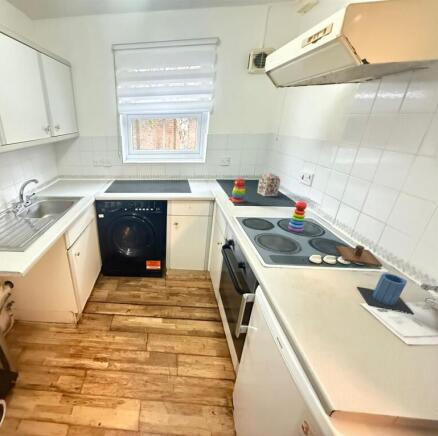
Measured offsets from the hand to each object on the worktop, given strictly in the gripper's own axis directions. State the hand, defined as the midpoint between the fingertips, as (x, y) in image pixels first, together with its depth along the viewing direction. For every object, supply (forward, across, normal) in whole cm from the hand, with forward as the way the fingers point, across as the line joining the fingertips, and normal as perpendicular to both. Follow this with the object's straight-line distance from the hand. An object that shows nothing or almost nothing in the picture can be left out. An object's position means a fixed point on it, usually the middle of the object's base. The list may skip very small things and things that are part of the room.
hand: (423, 292), depth 77 cm
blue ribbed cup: (+8, 0, -7) cm, 10 cm away
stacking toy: (+44, +40, -8) cm, 60 cm away
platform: (+16, +26, -8) cm, 32 cm away
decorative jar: (+78, +106, -8) cm, 132 cm away
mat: (+8, 0, -8) cm, 11 cm away
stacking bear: (+90, +74, -8) cm, 117 cm away
